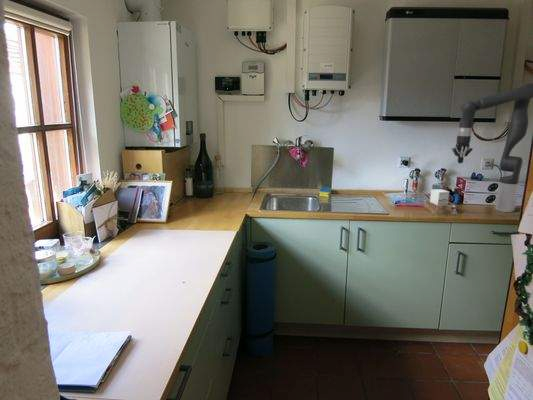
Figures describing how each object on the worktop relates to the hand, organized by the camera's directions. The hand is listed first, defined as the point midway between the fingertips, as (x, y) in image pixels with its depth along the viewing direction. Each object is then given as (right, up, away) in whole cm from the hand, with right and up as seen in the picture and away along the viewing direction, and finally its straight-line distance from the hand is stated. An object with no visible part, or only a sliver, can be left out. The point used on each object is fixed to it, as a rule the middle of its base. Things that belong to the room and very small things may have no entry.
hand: (459, 163), depth 239 cm
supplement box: (-17, -30, -7) cm, 35 cm away
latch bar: (-10, -26, -6) cm, 29 cm away
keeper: (-15, -30, -7) cm, 34 cm away
